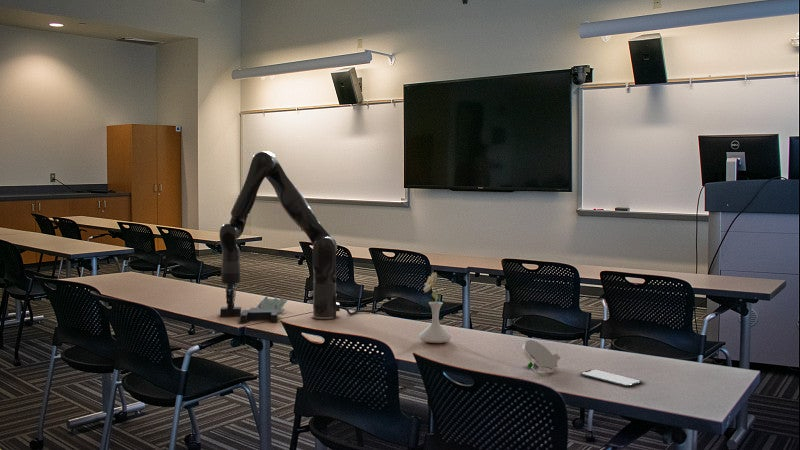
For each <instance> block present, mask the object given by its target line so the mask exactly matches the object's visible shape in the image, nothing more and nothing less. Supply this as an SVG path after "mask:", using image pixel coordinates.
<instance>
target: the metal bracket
mask: <svg viewBox="0 0 800 450" xmlns="http://www.w3.org/2000/svg"><path fill="white" fill-rule="evenodd" d="M287 302H288V299H284V296H281V297H280V298H277V296H275V297H274V298H269V297H268V296H265V297H264V298H263V299H262V300H261V301H260V302H259V304H258V305H257V306H256V307H250V308H249V310H278V312H277V315H279V314H283V313H284V312H285V309H284V306H285V304H286V303H287Z"/></svg>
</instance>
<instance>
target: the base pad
mask: <svg viewBox="0 0 800 450" xmlns="http://www.w3.org/2000/svg"><path fill="white" fill-rule="evenodd" d="M277 312H278V310H250V309H241V316H239V318H240V319H239V320H240V321H239V322H240V324H247V322H248V321H270V323H273V324H274V323H275V324H276V323H278V314H277Z"/></svg>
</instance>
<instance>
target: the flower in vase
mask: <svg viewBox="0 0 800 450" xmlns="http://www.w3.org/2000/svg"><path fill="white" fill-rule="evenodd" d="M437 278H438V274H437V271H435V272H433V271H432V273H431V274H430V275H429V276H428V277H427V279H426V282H424V287H423V290H422V291H424V292H423V293H427V292H429V291H430V290H431V289H432V288H433V287H434V289H435V291H432V293H431V297H432V298H433V299H434V300H435V301H429V302H428V305H429V306H430V309H431V315H432V320H431V323H430V324H429V325H428V326H427V327H426V328H425V329H423V330H422V331H421V332H420V333H419V335H418V338H419V339H420V340H421V341H423V342H426V343H431V344H441V343H448V342H449V341H451V339H452V338H453V337H452V335H451V334H450V332H448V331H447V330H446V329H445V327H443V326H442V325H441V323H440V318H439V317H440V310H441V308H442V306H443V303H444V302H442V301H438V300H439V298H440V297H439V294H438V289H437V287H436V285H435V284H436V281H437V280H438V279H437Z"/></svg>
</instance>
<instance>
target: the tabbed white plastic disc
mask: <svg viewBox="0 0 800 450" xmlns="http://www.w3.org/2000/svg"><path fill="white" fill-rule="evenodd" d="M521 351H522V353H523V355H524V356H525V358H526V359H527V360H528V361H529V363H528V364H527V368H529V369H532V370H533V371H534V373H538V372H539V371H541V372H544V373H545V372H546V373H548V374H550V373H551V372H554V371H555V370H556V369H557V368H558V366H559V365H558V362H559V361H560V360H561V359H562V357H561V356H559V355H558V354H557V353H554V354H552V353H551V351H550V350H549V349H548V348H546V346H544V345H543V344H542V343H540V342H538V341H535V340H532V339H529V340H526V341H525V342H524V344H523V345H522V347H521Z"/></svg>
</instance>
